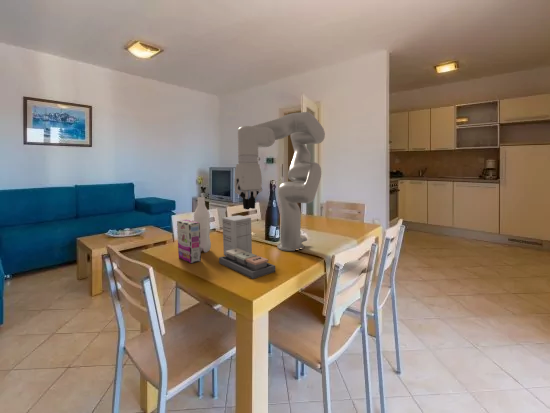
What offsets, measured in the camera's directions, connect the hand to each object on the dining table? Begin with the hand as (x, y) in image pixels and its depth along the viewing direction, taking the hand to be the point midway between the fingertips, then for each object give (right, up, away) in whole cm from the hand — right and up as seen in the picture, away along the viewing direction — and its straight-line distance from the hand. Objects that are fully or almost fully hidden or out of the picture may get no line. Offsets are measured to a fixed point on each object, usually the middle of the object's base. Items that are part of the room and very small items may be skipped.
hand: (249, 208), depth 116 cm
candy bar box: (-26, -22, +12) cm, 36 cm away
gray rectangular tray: (-1, -23, +2) cm, 23 cm away
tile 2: (-1, -21, +2) cm, 21 cm away
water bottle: (-23, -20, +24) cm, 39 cm away
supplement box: (-7, -21, +19) cm, 29 cm away
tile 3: (+3, -21, -4) cm, 22 cm away
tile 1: (-6, -20, +7) cm, 22 cm away
